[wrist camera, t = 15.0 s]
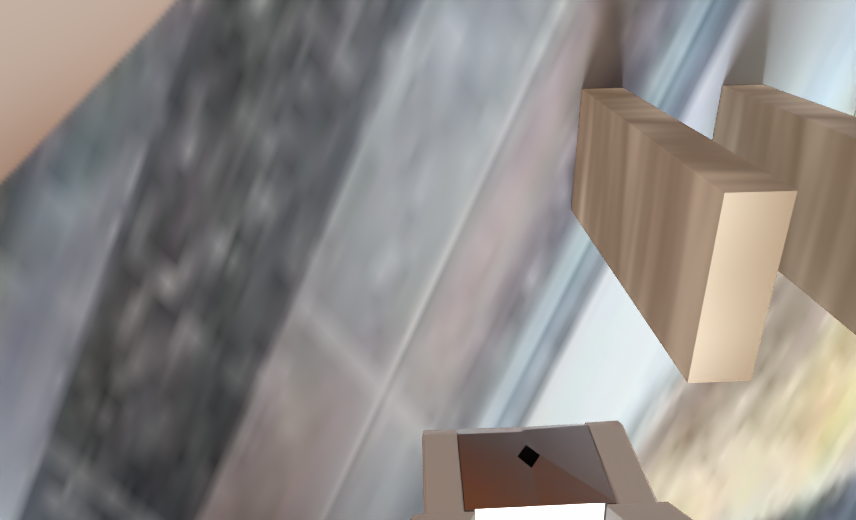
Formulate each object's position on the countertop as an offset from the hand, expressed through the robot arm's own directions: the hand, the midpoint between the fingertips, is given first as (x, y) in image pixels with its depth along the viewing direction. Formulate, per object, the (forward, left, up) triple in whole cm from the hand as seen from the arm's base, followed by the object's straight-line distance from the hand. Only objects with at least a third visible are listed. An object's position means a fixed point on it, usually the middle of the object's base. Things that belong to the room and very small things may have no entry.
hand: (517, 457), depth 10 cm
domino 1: (+6, 0, -17) cm, 18 cm away
